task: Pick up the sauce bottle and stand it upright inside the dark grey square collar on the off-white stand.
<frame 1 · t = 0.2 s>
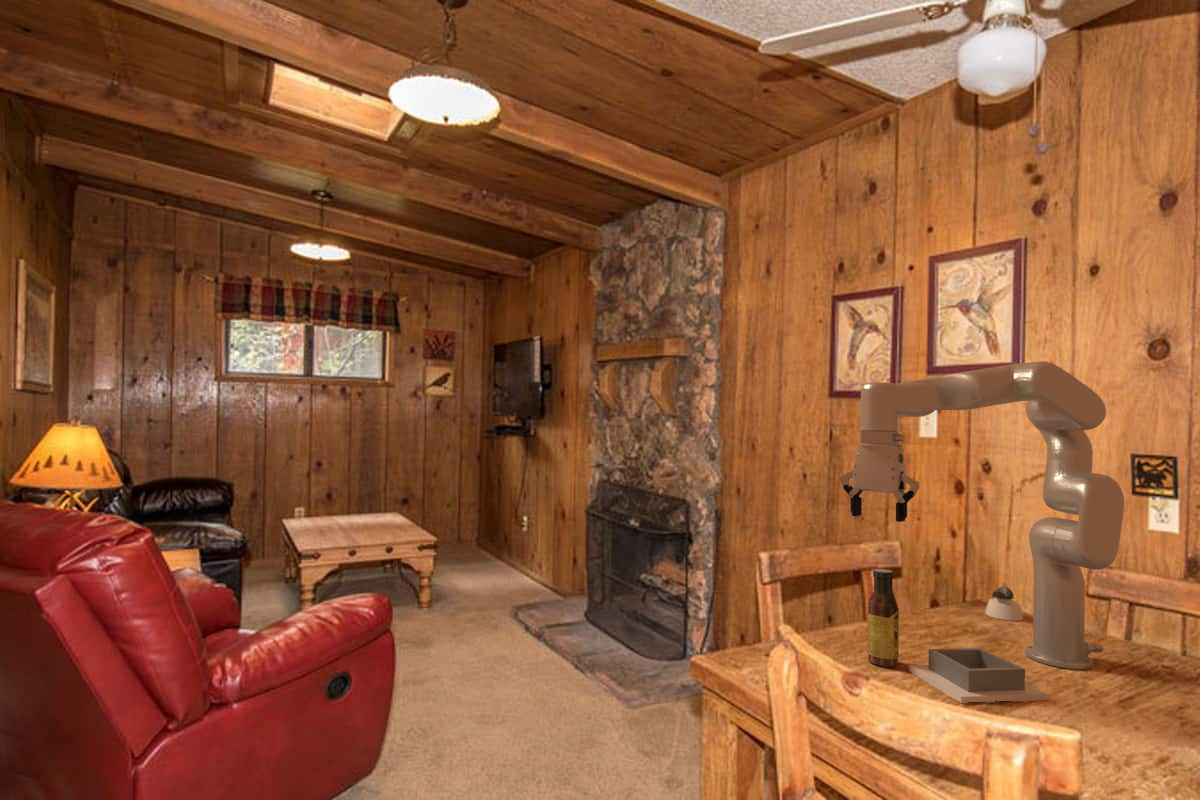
hand: (878, 518, 145), 31 cm above the table, tool pointing down, fingers open, 9 cm apart
sauce bottle: (882, 663, 146), on the table
inkwell: (1005, 621, 181), on the table
bottle stand: (974, 685, 135), on the table
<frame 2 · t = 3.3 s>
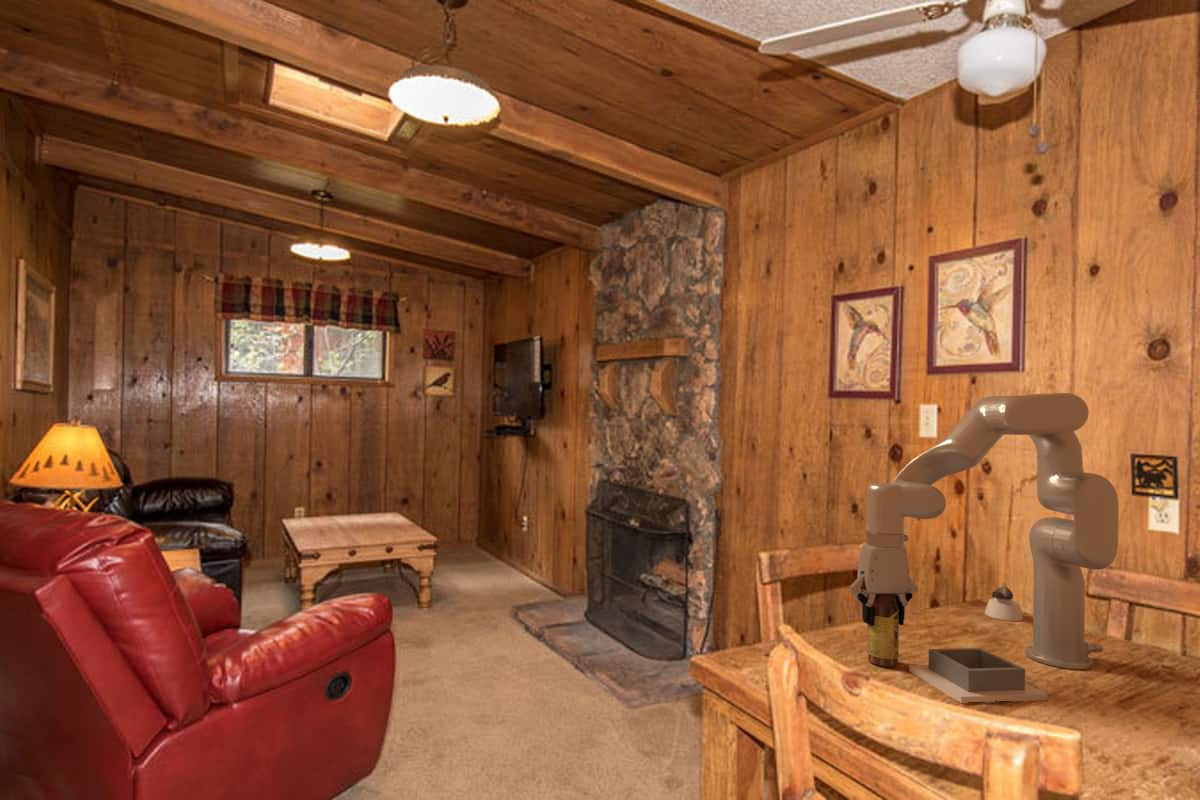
hand: (883, 622, 146), 9 cm above the table, tool pointing down, fingers closed on sauce bottle, 6 cm apart
sauce bottle: (882, 663, 146), on the table, touching gripper
everything else where it was.
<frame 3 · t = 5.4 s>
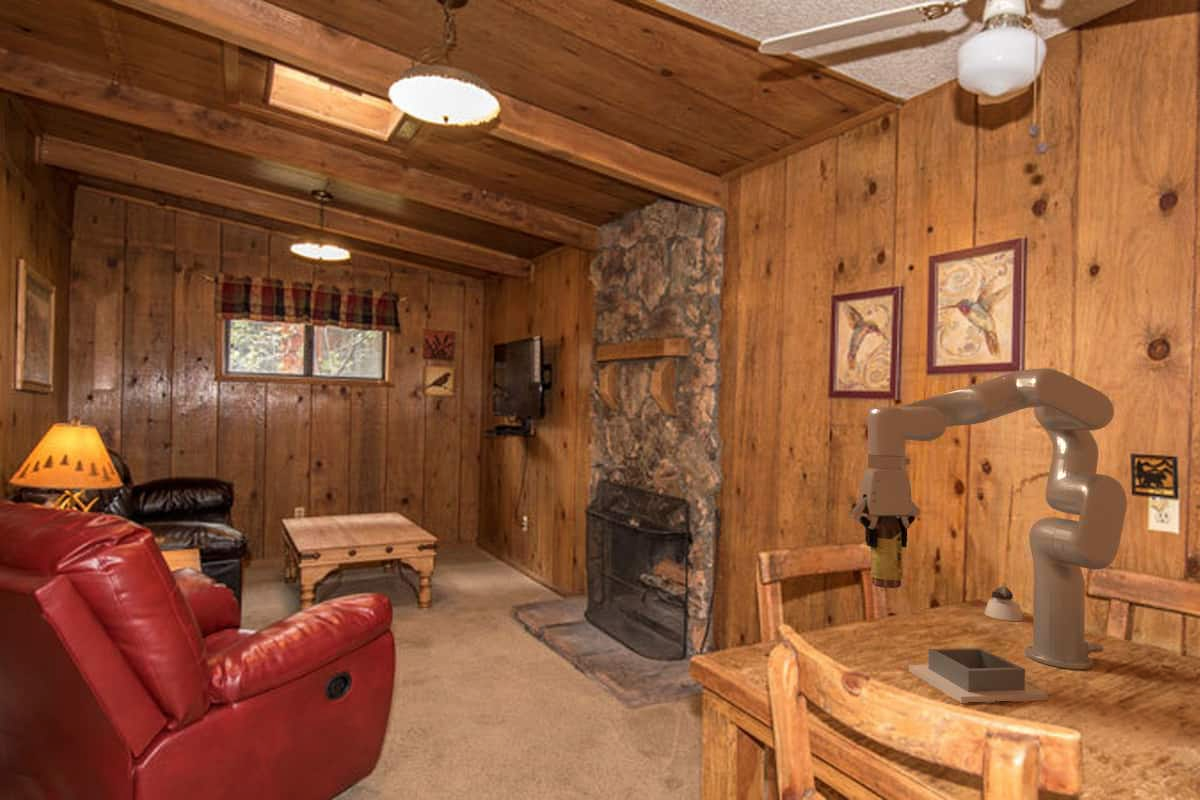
hand: (886, 545, 146), 25 cm above the table, tool pointing down, fingers closed on sauce bottle, 6 cm apart
sauce bottle: (886, 586, 146), point 16 cm above the table, touching gripper
everything else where it was.
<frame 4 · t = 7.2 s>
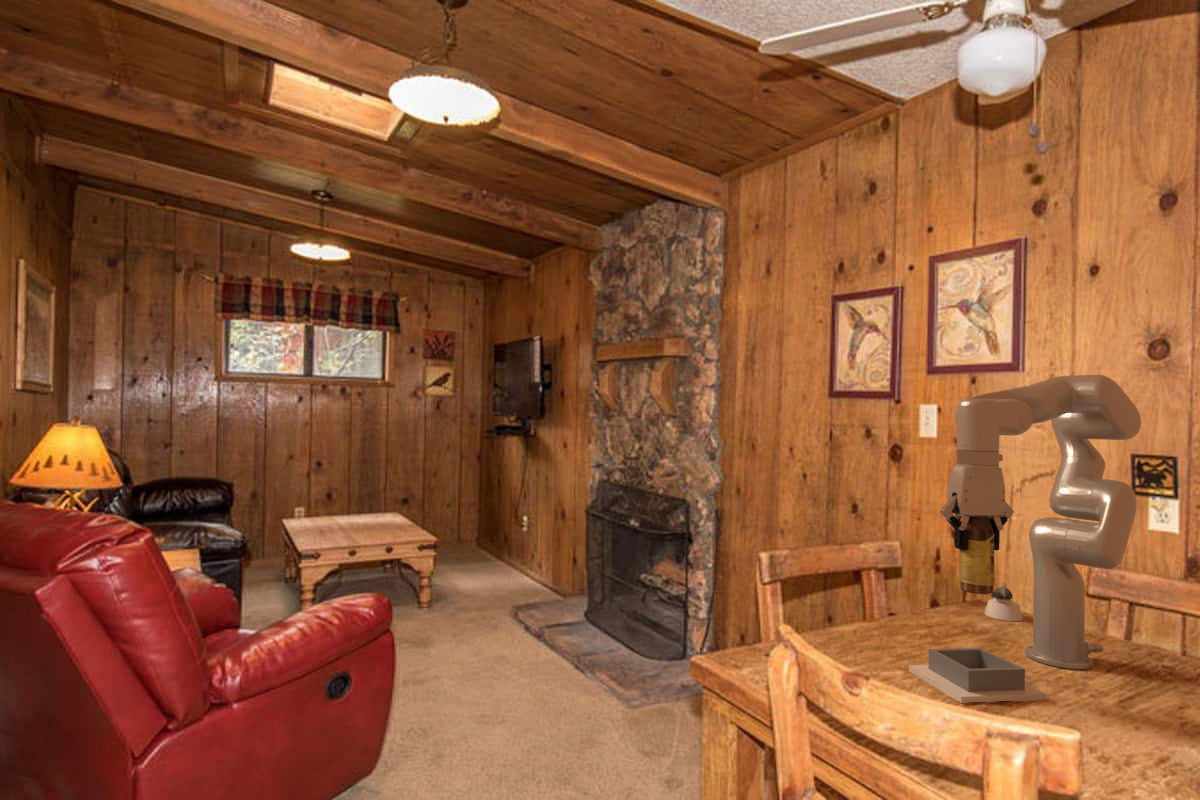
hand: (976, 548, 135), 27 cm above the table, tool pointing down, fingers closed on sauce bottle, 6 cm apart
sauce bottle: (976, 592, 135), point 18 cm above the table, touching gripper
everything else where it was.
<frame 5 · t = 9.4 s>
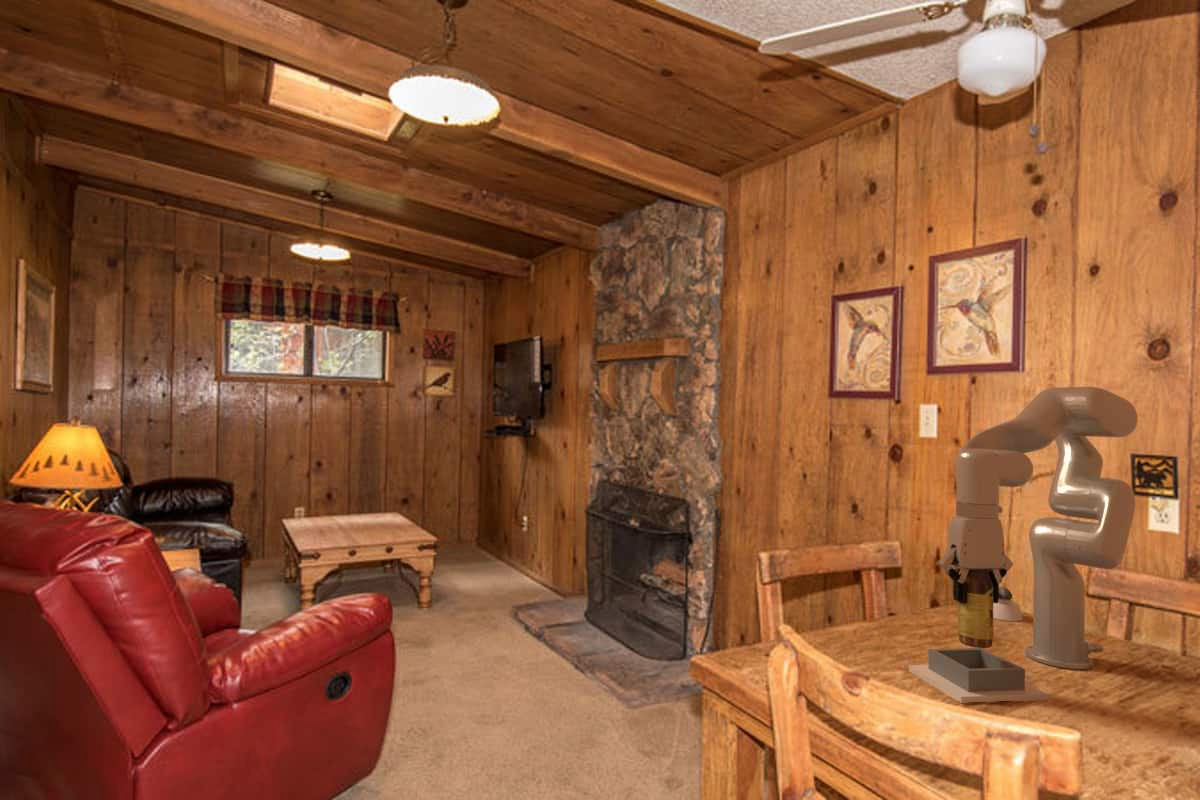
hand: (975, 600, 135), 17 cm above the table, tool pointing down, fingers closed on sauce bottle, 6 cm apart
sauce bottle: (974, 645, 135), point 8 cm above the table, touching gripper
everything else where it was.
when the fingers open (12 cm above the table, at t = 11.5 s): sauce bottle drops 2 cm, resting on bottle stand.
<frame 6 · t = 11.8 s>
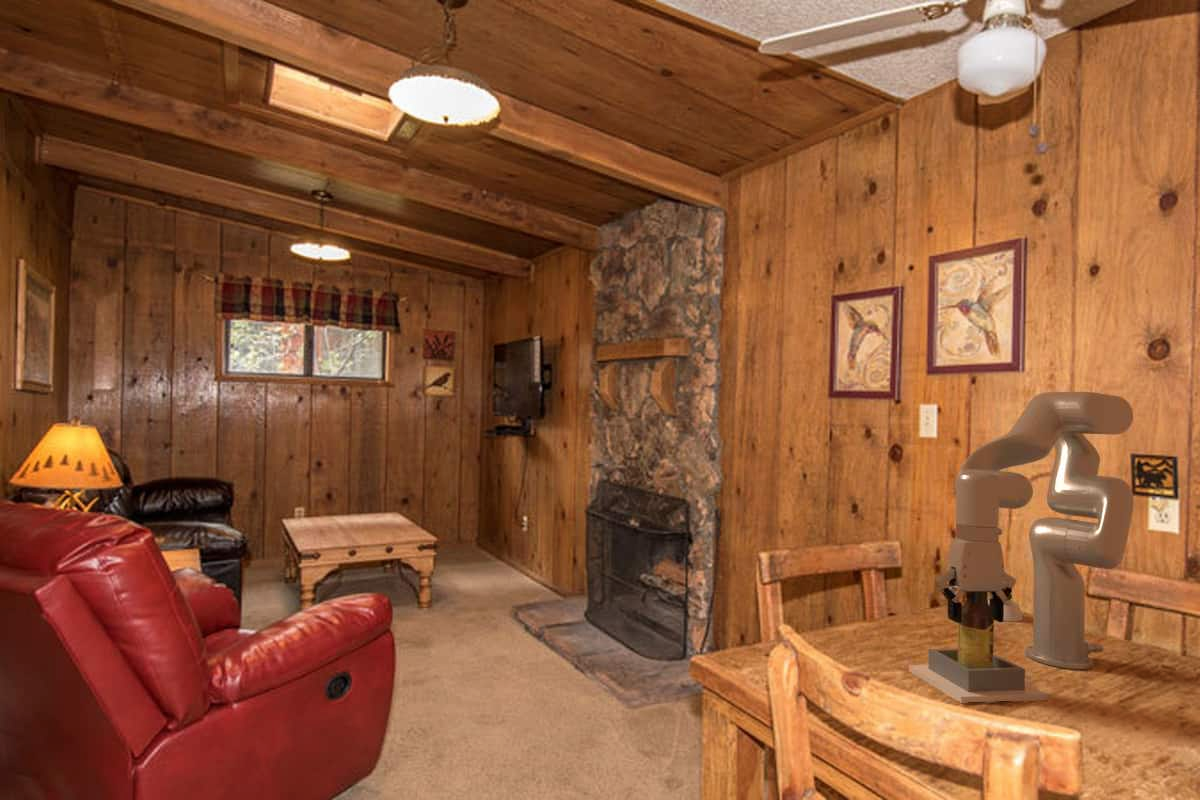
hand: (975, 620, 135), 13 cm above the table, tool pointing down, fingers open, 8 cm apart
sauce bottle: (974, 679, 135), point 1 cm above the table, touching bottle stand
everything else where it was.
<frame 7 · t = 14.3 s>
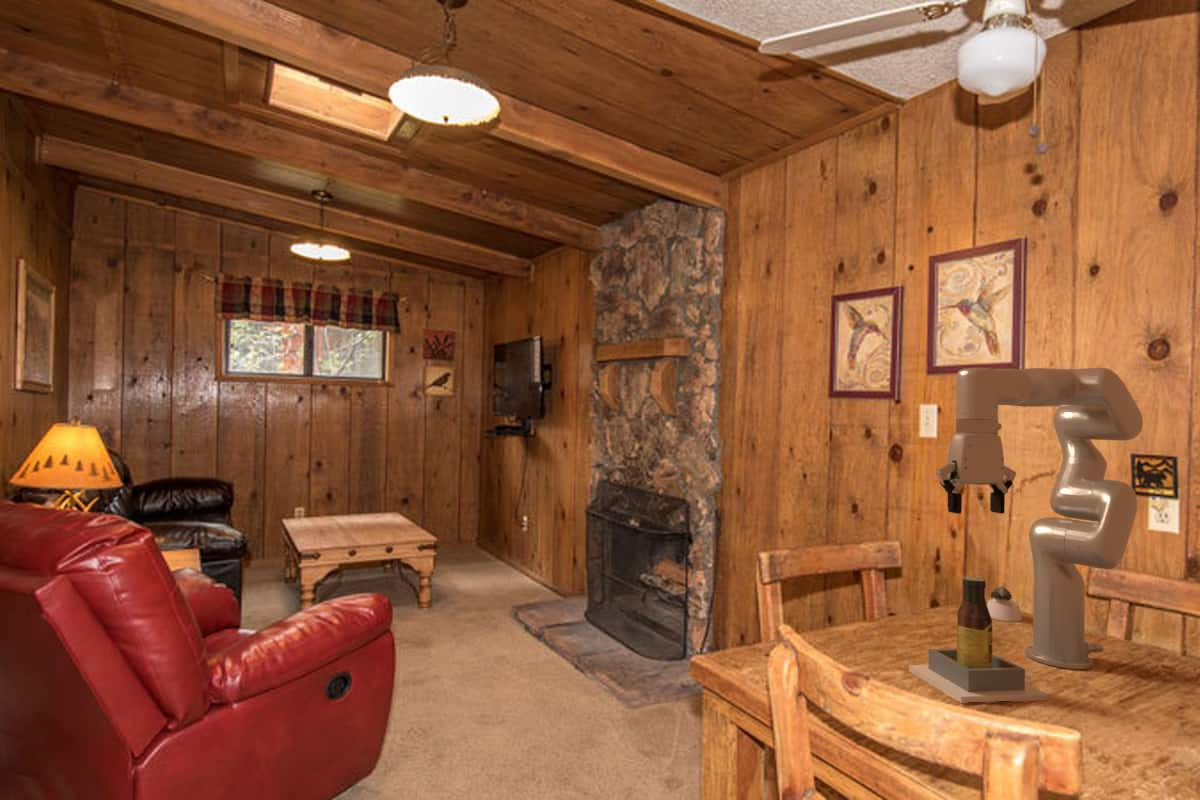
hand: (976, 512, 137), 34 cm above the table, tool pointing down, fingers open, 9 cm apart
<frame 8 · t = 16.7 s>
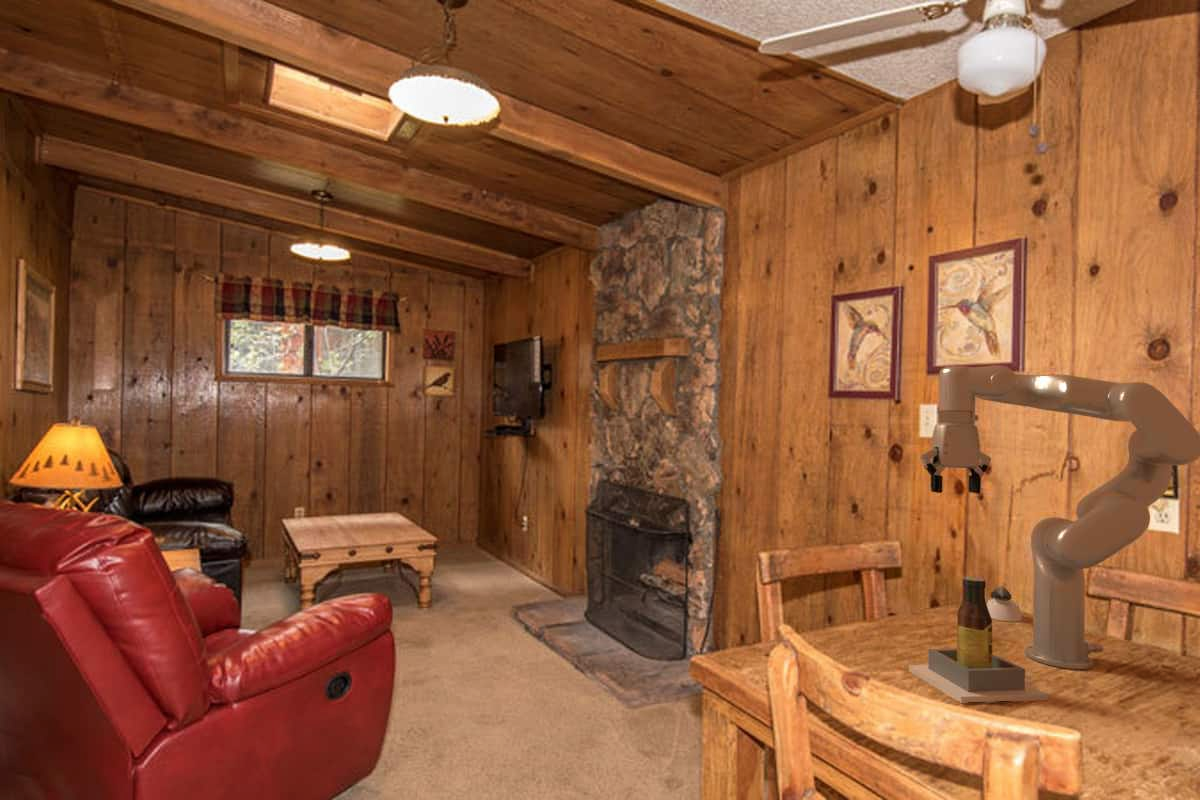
hand: (955, 492, 157), 36 cm above the table, tool pointing down, fingers open, 9 cm apart
at the end: sauce bottle 0.1 cm off-centre on the bottle stand, point 1.0 cm above the bottle stand's base; sauce bottle tilted 0°; the gripper is holding nothing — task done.
